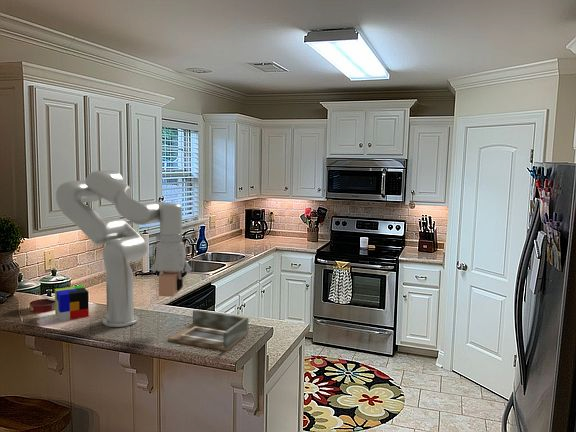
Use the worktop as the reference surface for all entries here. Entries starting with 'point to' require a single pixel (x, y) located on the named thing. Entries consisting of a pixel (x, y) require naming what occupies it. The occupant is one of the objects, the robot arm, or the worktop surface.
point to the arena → (213, 330)
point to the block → (168, 284)
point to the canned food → (42, 305)
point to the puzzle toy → (71, 303)
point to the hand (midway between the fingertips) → (171, 288)
